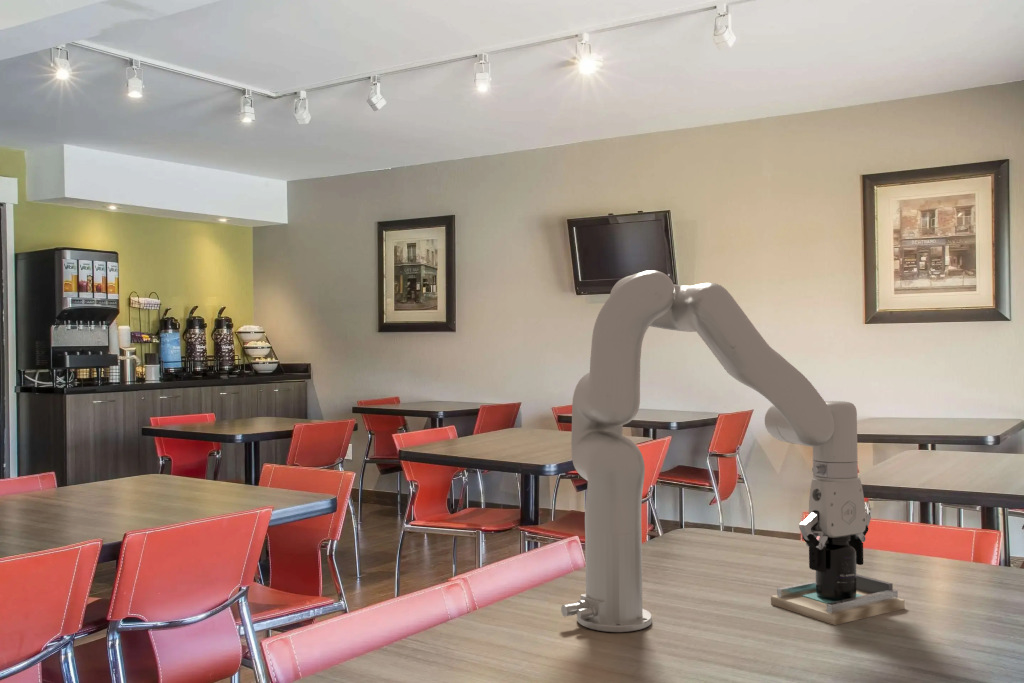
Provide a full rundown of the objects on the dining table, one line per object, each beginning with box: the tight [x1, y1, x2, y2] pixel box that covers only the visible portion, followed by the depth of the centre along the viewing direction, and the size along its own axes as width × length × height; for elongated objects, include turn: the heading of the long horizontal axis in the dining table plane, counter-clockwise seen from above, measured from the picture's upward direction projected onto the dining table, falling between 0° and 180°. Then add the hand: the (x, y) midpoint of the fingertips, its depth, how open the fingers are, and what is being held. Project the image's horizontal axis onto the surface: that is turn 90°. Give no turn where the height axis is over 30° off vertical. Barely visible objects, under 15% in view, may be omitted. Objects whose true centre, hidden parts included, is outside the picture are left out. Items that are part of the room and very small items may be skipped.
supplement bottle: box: [815, 536, 857, 601], centre depth 154 cm, size 7×7×12 cm
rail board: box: [770, 573, 906, 626], centre depth 154 cm, size 18×14×4 cm
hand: (836, 566), depth 154 cm, fingers open, 9 cm apart
